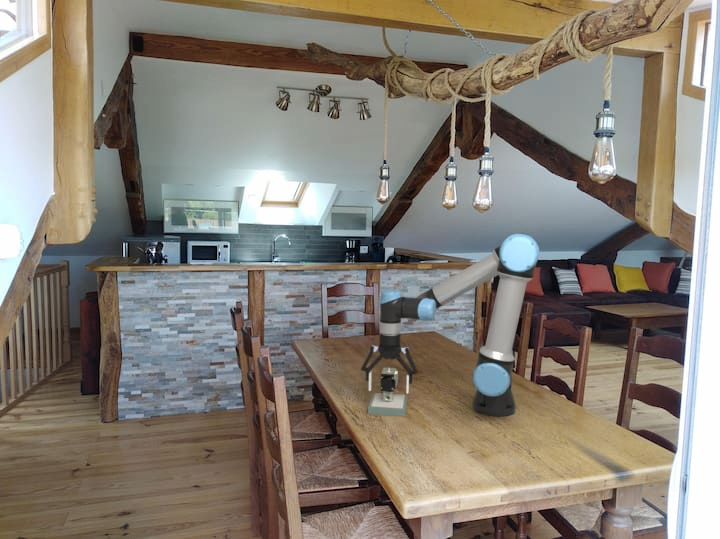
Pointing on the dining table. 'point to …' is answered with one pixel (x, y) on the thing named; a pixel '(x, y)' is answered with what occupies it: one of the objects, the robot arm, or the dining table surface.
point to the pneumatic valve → (389, 382)
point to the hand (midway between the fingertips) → (388, 391)
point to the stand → (388, 405)
